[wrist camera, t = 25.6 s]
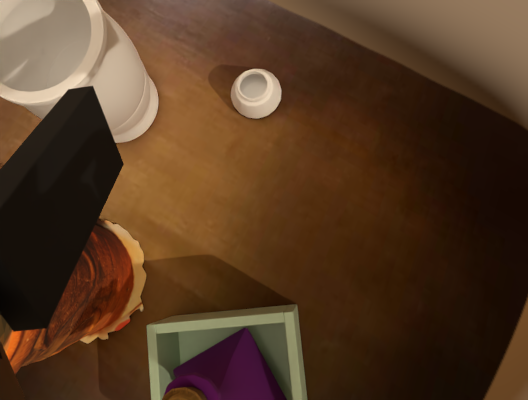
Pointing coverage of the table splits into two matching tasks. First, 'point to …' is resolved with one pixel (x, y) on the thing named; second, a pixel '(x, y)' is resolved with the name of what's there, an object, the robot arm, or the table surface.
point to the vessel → (86, 298)
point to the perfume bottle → (226, 373)
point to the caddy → (219, 328)
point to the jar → (73, 62)
